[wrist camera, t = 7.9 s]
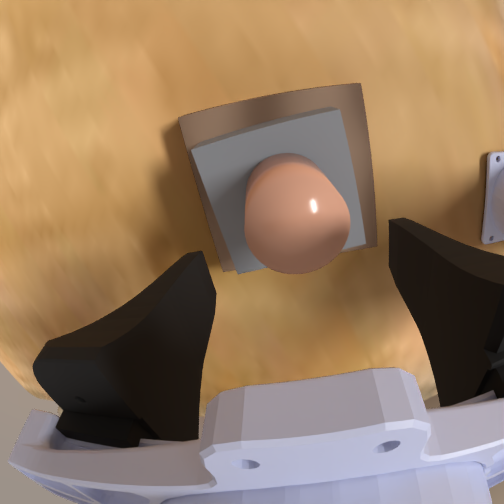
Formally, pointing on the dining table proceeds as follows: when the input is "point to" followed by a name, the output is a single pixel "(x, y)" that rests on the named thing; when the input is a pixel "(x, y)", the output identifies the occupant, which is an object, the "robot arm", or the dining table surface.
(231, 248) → the top slab
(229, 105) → the base slab
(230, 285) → the dining table surface
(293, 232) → the egg
